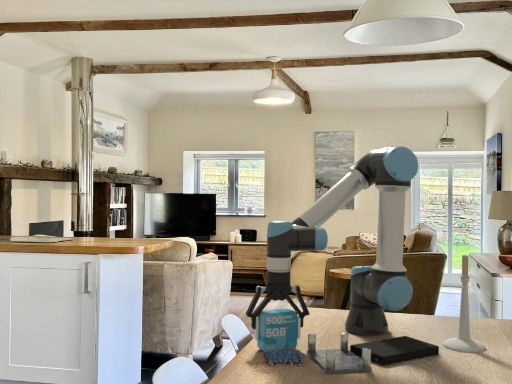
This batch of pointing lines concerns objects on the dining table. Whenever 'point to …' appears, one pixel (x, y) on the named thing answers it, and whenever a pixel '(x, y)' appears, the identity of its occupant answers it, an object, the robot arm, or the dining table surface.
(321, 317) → the dining table surface
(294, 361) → the woven mat
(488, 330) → the dining table surface
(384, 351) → the external hard drive
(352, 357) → the chassis
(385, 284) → the robot arm
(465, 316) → the candlestick
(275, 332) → the data package
